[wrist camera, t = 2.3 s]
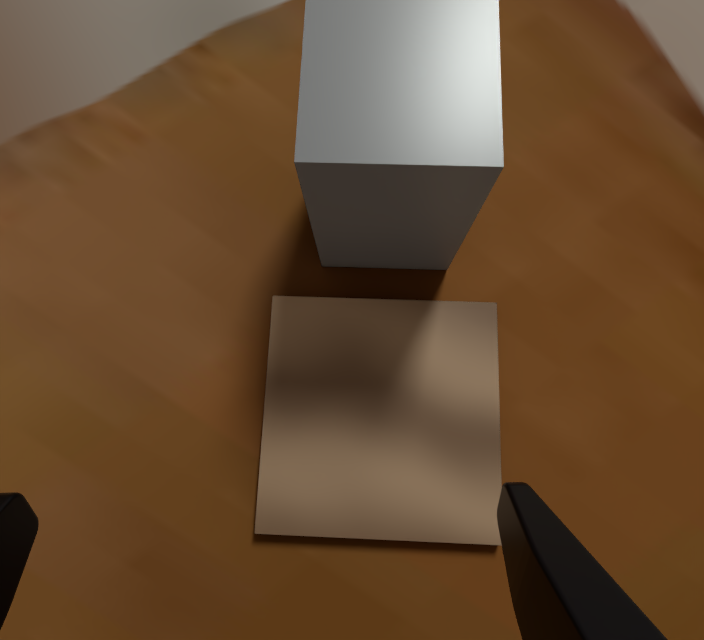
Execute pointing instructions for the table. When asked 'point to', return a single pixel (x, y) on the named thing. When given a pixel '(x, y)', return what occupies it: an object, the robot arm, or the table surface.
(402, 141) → the sharp-edged grey box
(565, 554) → the robot arm
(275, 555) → the table surface
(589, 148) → the table surface
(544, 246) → the table surface
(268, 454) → the light tan board
